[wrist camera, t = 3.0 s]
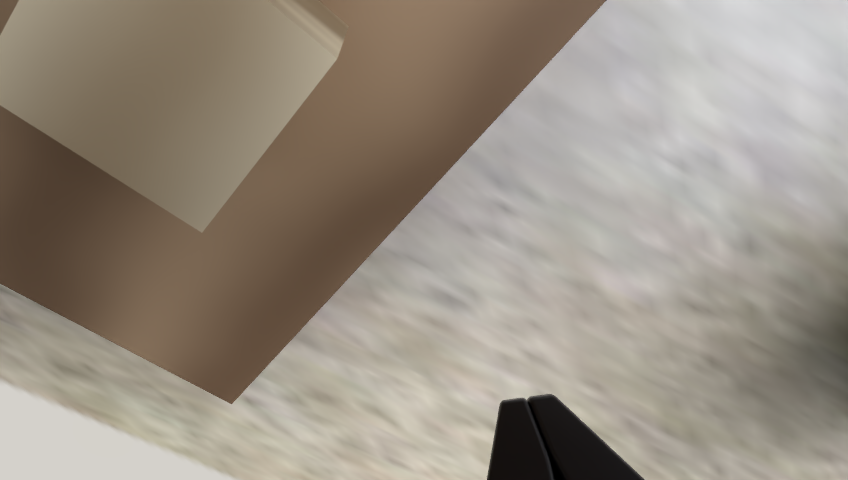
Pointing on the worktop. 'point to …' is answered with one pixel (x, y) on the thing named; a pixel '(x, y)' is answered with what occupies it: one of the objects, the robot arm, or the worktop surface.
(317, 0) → the maple block
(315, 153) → the trap board
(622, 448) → the worktop surface
